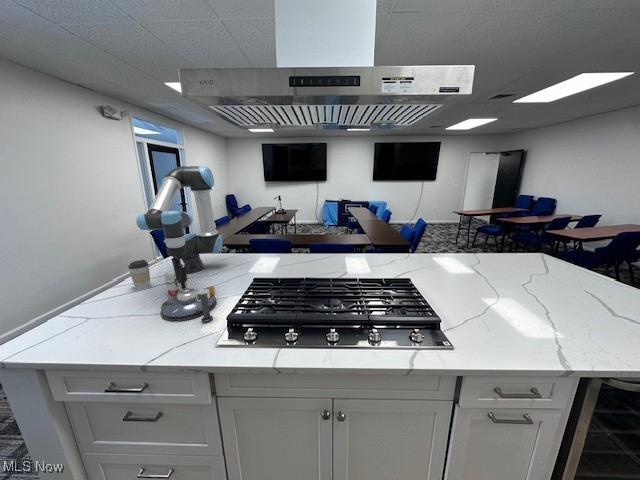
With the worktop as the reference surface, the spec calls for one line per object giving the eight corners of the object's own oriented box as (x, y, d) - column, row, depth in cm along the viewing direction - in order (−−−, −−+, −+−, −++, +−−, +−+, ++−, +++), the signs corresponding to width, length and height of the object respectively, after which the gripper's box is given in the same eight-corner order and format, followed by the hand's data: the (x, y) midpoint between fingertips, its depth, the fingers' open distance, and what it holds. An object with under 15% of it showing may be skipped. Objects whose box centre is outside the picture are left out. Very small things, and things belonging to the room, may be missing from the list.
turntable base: (183, 295, 127) (182, 293, 127) (225, 297, 125) (225, 295, 124) (147, 320, 105) (147, 318, 105) (198, 323, 102) (198, 321, 102)
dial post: (204, 315, 108) (200, 289, 105) (216, 316, 107) (212, 289, 104) (197, 322, 103) (192, 294, 100) (209, 323, 102) (205, 295, 99)
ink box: (176, 295, 127) (172, 274, 124) (167, 295, 128) (163, 273, 125) (188, 288, 135) (184, 268, 132) (180, 287, 136) (177, 267, 133)
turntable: (183, 293, 127) (181, 282, 125) (224, 295, 124) (222, 283, 122) (149, 316, 105) (146, 304, 104) (197, 319, 103) (195, 306, 101)
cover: (185, 296, 119) (184, 285, 118) (201, 296, 118) (199, 286, 117) (174, 304, 111) (172, 293, 110) (190, 305, 110) (188, 293, 109)
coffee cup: (138, 292, 131) (132, 265, 128) (129, 288, 136) (123, 262, 132) (156, 285, 139) (151, 260, 135) (147, 282, 143) (142, 258, 139)
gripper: (162, 245, 113) (170, 292, 119) (171, 250, 105) (179, 301, 110) (180, 241, 119) (187, 287, 124) (190, 246, 110) (197, 295, 116)
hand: (183, 294), depth 117 cm, fingers closed
